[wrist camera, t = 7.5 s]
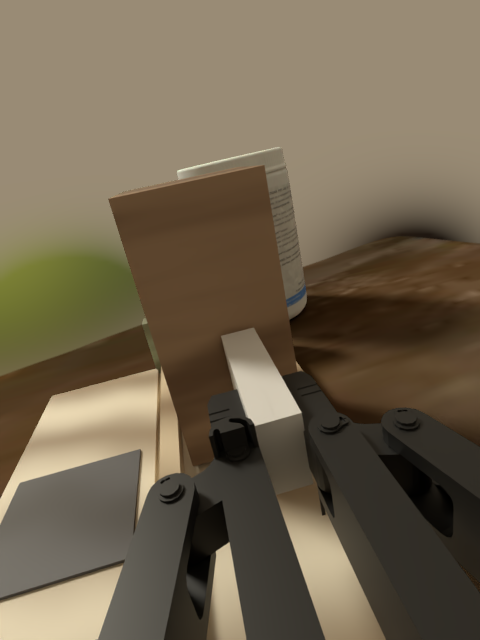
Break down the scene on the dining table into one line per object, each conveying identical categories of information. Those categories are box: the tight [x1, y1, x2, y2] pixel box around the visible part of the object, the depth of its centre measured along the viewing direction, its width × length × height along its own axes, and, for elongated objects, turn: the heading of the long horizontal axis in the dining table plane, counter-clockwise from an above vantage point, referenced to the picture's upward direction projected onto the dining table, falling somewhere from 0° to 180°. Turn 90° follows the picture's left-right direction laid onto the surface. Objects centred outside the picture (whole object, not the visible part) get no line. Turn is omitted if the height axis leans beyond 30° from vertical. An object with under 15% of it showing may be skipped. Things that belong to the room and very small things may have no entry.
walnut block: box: [109, 165, 297, 466], centre depth 20 cm, size 6×6×13 cm
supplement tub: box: [177, 147, 307, 320], centre depth 36 cm, size 10×10×15 cm
